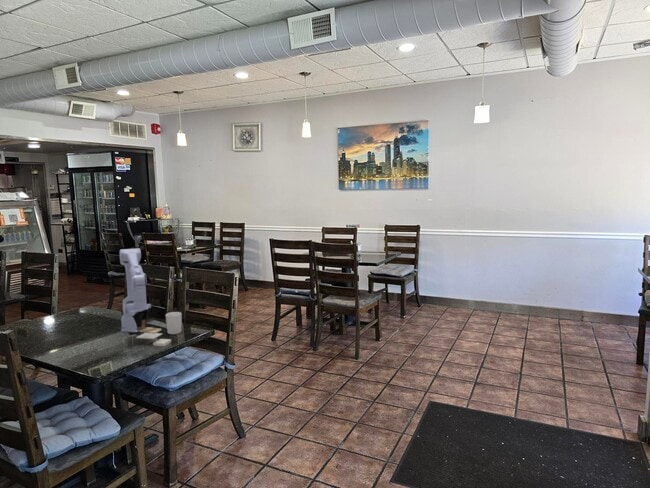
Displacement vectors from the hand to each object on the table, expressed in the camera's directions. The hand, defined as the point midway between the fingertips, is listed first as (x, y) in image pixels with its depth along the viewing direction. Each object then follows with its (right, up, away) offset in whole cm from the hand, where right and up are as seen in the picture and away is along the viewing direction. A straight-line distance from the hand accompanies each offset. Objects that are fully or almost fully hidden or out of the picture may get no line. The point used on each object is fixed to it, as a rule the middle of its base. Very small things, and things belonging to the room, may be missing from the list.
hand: (141, 325), depth 210 cm
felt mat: (0, -7, +10) cm, 12 cm away
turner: (+4, -2, 0) cm, 4 cm away
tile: (+8, -8, -1) cm, 11 cm away
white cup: (+11, -7, +16) cm, 20 cm away
